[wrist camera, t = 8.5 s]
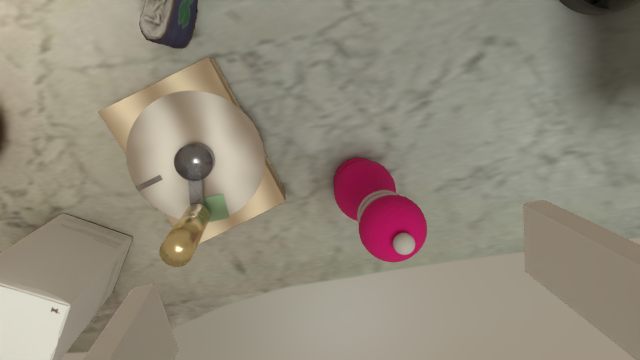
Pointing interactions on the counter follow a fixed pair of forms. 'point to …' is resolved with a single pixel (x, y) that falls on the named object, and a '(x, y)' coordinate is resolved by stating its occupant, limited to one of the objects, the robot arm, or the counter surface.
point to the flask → (169, 21)
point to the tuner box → (195, 126)
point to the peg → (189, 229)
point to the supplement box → (56, 286)
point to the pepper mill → (379, 210)
